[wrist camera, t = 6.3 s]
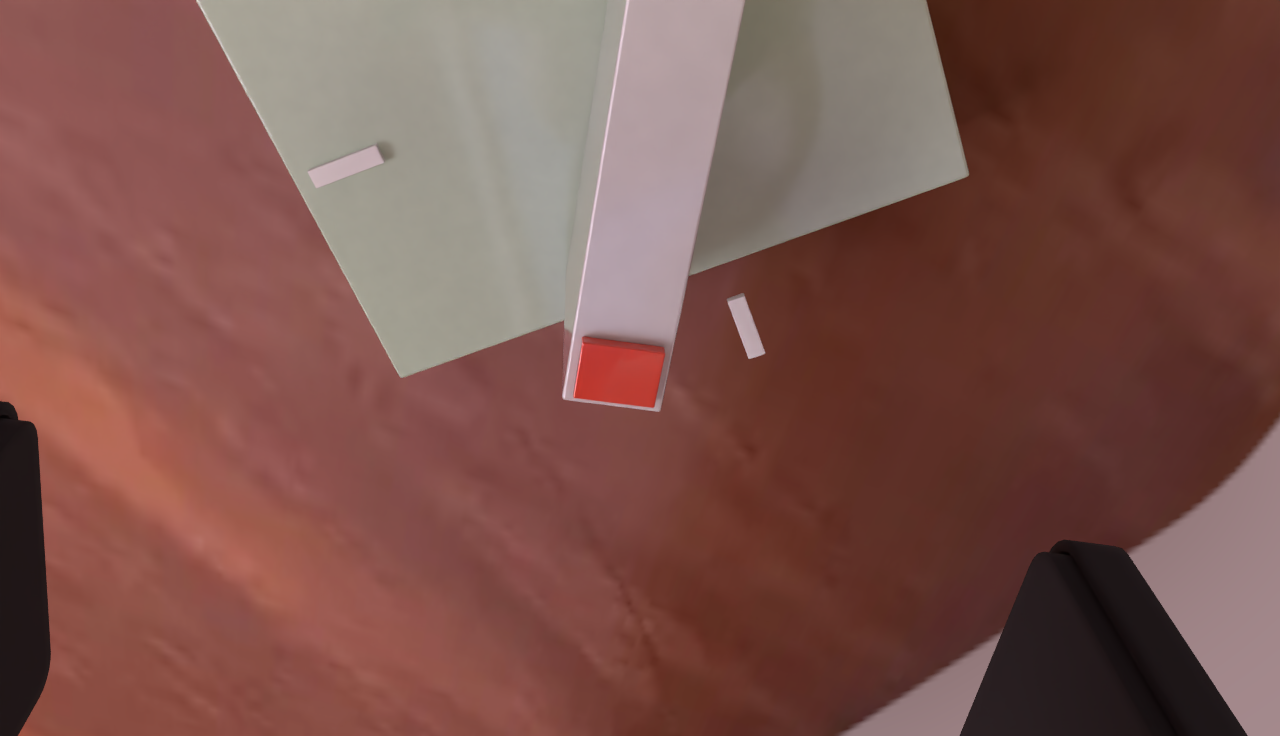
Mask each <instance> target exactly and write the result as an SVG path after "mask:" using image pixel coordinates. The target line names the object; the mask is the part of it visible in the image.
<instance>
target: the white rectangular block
mask: <svg viewBox="0 0 1280 736" xmlns="http://www.w3.org/2000/svg"><path fill="white" fill-rule="evenodd" d="M745 2H746V0H608V2H607V8H606V14H605V21H604V27H603V34H602V40H601V47H600V53H599V60H598V66H597V73H596V79H595V86H594V92H593V99H592V105H591V112H590V118H589V125H588V131H587V138H586V144H585V150H584V157H583V163H582V170H581V176H580V183H579V189H578V196H577V202H576V209H575V215H574V222H573V228H572V235H571V241H570V248H569V254H568V261H567V267H566V282H565V316H564V351H563V386H562V397H563V399H564V400H570V401H578V402H586V403H594V404H602V405H610V406H618V407H626V408H634V409H641V410H649V411H657V412H658V411H660V410H661V407H662V402H663V397H664V392H665V388H666V383H667V378H668V373H669V368H670V363H671V359H672V354H673V349H674V344H675V339H676V334H677V330H678V325H679V320H680V315H681V310H682V306H683V301H684V296H685V291H686V286H687V281H688V277H689V272H690V267H691V262H692V257H693V252H694V248H695V243H696V238H697V233H698V228H699V224H700V219H701V214H702V209H703V204H704V199H705V195H706V190H707V185H708V180H709V175H710V170H711V166H712V161H713V156H714V151H715V146H716V141H717V137H718V132H719V127H720V122H721V117H722V113H723V108H724V103H725V98H726V93H727V88H728V84H729V79H730V74H731V69H732V64H733V59H734V55H735V50H736V45H737V40H738V35H739V31H740V26H741V21H742V16H743V11H744V6H745Z"/></svg>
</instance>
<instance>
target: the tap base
mask: <svg viewBox="0 0 1280 736" xmlns="http://www.w3.org/2000/svg"><path fill="white" fill-rule="evenodd" d="M196 1H197V3H198V5H199V7H200V9H201V11H202V13H203V14H204V16H205V18H206V20H207V22H208V24H209V25H210V27H211V29H212V31H213V33H214V35H215V37H216V38H217V40H218V42H219V44H220V46H221V48H222V49H223V51H224V53H225V55H226V57H227V59H228V61H229V62H230V64H231V66H232V68H233V70H234V72H235V74H236V75H237V77H238V79H239V81H240V83H241V85H242V86H243V88H244V90H245V92H246V94H247V96H248V98H249V99H250V101H251V103H252V105H253V107H254V109H255V111H256V112H257V114H258V116H259V118H260V120H261V122H262V123H263V125H264V127H265V129H266V131H267V133H268V135H269V136H270V138H271V140H272V142H273V144H274V146H275V148H276V149H277V151H278V153H279V155H280V157H281V159H282V160H283V162H284V164H285V166H286V168H287V170H288V172H289V173H290V175H291V177H292V179H293V181H294V183H295V184H296V186H297V188H298V190H299V192H300V194H301V196H302V197H303V199H304V201H305V203H306V205H307V207H308V209H309V210H310V212H311V214H312V216H313V218H314V220H315V221H316V223H317V225H318V227H319V229H320V231H321V233H322V234H323V236H324V238H325V240H326V242H327V244H328V246H329V247H330V249H331V251H332V253H333V255H334V257H335V258H336V260H337V262H338V264H339V266H340V268H341V270H342V271H343V273H344V275H345V277H346V279H347V281H348V283H349V284H350V286H351V288H352V290H353V292H354V294H355V295H356V297H357V299H358V301H359V303H360V305H361V307H362V308H363V310H364V312H365V314H366V316H367V318H368V320H369V321H370V323H371V325H372V327H373V329H374V331H375V332H376V334H377V336H378V338H379V340H380V342H381V344H382V345H383V347H384V349H385V351H386V353H387V355H388V356H389V358H390V360H391V362H392V364H393V366H394V368H395V369H396V371H397V373H398V375H399V376H400V377H401V378H404V377H407V376H409V375H412V374H415V373H418V372H421V371H423V370H426V369H429V368H432V367H435V366H437V365H440V364H443V363H446V362H449V361H451V360H454V359H457V358H460V357H463V356H466V355H468V354H471V353H474V352H477V351H480V350H482V349H485V348H488V347H491V346H494V345H496V344H499V343H502V342H505V341H508V340H511V339H513V338H516V337H519V336H522V335H525V334H527V333H530V332H533V331H536V330H539V329H541V328H544V327H547V326H550V325H553V324H555V323H558V322H561V321H564V316H565V282H566V267H567V261H568V254H569V248H570V241H571V235H572V228H573V222H574V215H575V209H576V202H577V196H578V189H579V183H580V176H581V170H582V163H583V157H584V150H585V144H586V138H587V131H588V125H589V118H590V112H591V105H592V99H593V92H594V86H595V79H596V73H597V66H598V60H599V53H600V47H601V40H602V34H603V27H604V21H605V14H606V8H607V2H608V0H196ZM967 176H969V170H968V166H967V162H966V158H965V153H964V149H963V145H962V141H961V137H960V133H959V129H958V125H957V121H956V117H955V113H954V109H953V105H952V101H951V97H950V93H949V89H948V85H947V81H946V77H945V73H944V69H943V65H942V61H941V56H940V52H939V48H938V44H937V40H936V36H935V32H934V28H933V24H932V20H931V16H930V12H929V8H928V4H927V0H746V2H745V6H744V11H743V16H742V21H741V26H740V31H739V35H738V40H737V45H736V50H735V55H734V59H733V64H732V69H731V74H730V79H729V84H728V88H727V93H726V98H725V103H724V108H723V113H722V117H721V122H720V127H719V132H718V137H717V141H716V146H715V151H714V156H713V161H712V166H711V170H710V175H709V180H708V185H707V190H706V195H705V199H704V204H703V209H702V214H701V219H700V224H699V228H698V233H697V238H696V243H695V248H694V252H693V257H692V262H691V267H690V272H689V276H690V275H693V274H696V273H699V272H702V271H704V270H707V269H710V268H713V267H716V266H719V265H721V264H724V263H727V262H730V261H733V260H735V259H738V258H741V257H744V256H747V255H749V254H752V253H755V252H758V251H761V250H764V249H766V248H769V247H772V246H775V245H778V244H780V243H783V242H786V241H789V240H792V239H794V238H797V237H800V236H803V235H806V234H808V233H811V232H814V231H817V230H820V229H823V228H825V227H828V226H831V225H834V224H837V223H839V222H842V221H845V220H848V219H851V218H853V217H856V216H859V215H862V214H865V213H868V212H870V211H873V210H876V209H879V208H882V207H884V206H887V205H890V204H893V203H896V202H898V201H901V200H904V199H907V198H910V197H913V196H915V195H918V194H921V193H924V192H927V191H929V190H932V189H935V188H938V187H941V186H943V185H946V184H949V183H952V182H955V181H957V180H960V179H963V178H966V177H967ZM727 302H728V305H729V307H730V310H731V313H732V316H733V318H734V321H735V324H736V326H737V329H738V332H739V334H740V337H741V340H742V342H743V345H744V348H745V350H746V353H747V356H748V358H749V359H752V358H755V357H757V356H760V355H763V354H765V350H764V347H763V345H762V342H761V339H760V336H759V334H758V331H757V328H756V325H755V323H754V320H753V317H752V314H751V311H750V309H749V306H748V303H747V300H746V298H745V295H744V293H742V294H739V295H736V296H733V297H731V298H728V299H727Z"/></svg>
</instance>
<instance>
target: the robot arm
mask: <svg viewBox="0 0 1280 736" xmlns="http://www.w3.org/2000/svg"><path fill="white" fill-rule="evenodd" d="M50 658H51V649H50V632H49V616H48V599H47V582H46V566H45V549H44V533H43V516H42V500H41V483H40V467H39V450H38V437H37V430H36V428H35V426H34V424H33V423H31V422H29V421H21V420H18V416H17V412H16V410H15V408H14V406H13V405H11V404H10V403H9V402H2V401H0V736H18V734H19V733H20V731H21V729H22V727H23V726H24V724H25V722H26V720H27V718H28V717H29V715H30V713H31V711H32V710H33V708H34V706H35V704H36V703H37V701H38V699H39V697H40V695H41V693H42V691H43V689H44V686H45V683H46V680H47V676H48V672H49V666H50ZM960 736H1247V734H1246V733H1245V731H1244V729H1243V728H1242V726H1241V725H1240V723H1239V722H1238V720H1237V719H1236V717H1235V716H1234V714H1233V713H1232V711H1231V710H1230V708H1229V707H1228V705H1227V704H1226V702H1225V701H1224V699H1223V698H1222V696H1221V695H1220V693H1219V692H1218V690H1217V689H1216V687H1215V685H1214V684H1213V682H1212V681H1211V679H1210V678H1209V676H1208V675H1207V674H1206V672H1205V670H1204V669H1203V667H1202V666H1201V664H1200V663H1199V661H1198V660H1197V658H1196V657H1195V655H1194V654H1193V652H1192V651H1191V649H1190V648H1189V646H1188V645H1187V643H1186V642H1185V640H1184V638H1183V637H1182V636H1181V634H1180V632H1179V631H1178V629H1177V628H1176V626H1175V625H1174V623H1173V622H1172V620H1171V619H1170V617H1169V616H1168V614H1167V613H1166V611H1165V610H1164V608H1163V607H1162V605H1161V604H1160V602H1159V601H1158V599H1157V598H1156V596H1155V595H1154V593H1153V591H1152V590H1151V588H1150V587H1149V585H1148V584H1147V582H1146V581H1145V579H1144V578H1143V576H1142V575H1141V573H1140V572H1139V570H1138V569H1137V567H1136V566H1135V564H1134V563H1133V561H1132V560H1131V558H1130V557H1129V555H1128V554H1127V553H1126V552H1125V551H1124V550H1123V549H1122V548H1119V547H1116V546H1109V545H1101V544H1094V543H1086V542H1078V541H1070V540H1062V541H1059V542H1057V543H1056V544H1055V545H1054V546H1053V547H1052V548H1051V550H1050V552H1041V553H1038V554H1037V555H1036V556H1035V557H1034V559H1033V560H1032V562H1031V564H1030V566H1029V569H1028V571H1027V574H1026V576H1025V578H1024V581H1023V583H1022V586H1021V588H1020V591H1019V593H1018V595H1017V598H1016V600H1015V603H1014V605H1013V608H1012V610H1011V612H1010V615H1009V617H1008V620H1007V622H1006V624H1005V627H1004V629H1003V632H1002V634H1001V637H1000V639H999V641H998V644H997V647H996V649H995V651H994V654H993V656H992V658H991V661H990V663H989V666H988V668H987V671H986V673H985V676H984V678H983V680H982V683H981V685H980V688H979V690H978V692H977V695H976V697H975V700H974V702H973V705H972V707H971V710H970V712H969V714H968V717H967V719H966V722H965V724H964V727H963V729H962V731H961V734H960Z"/></svg>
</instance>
